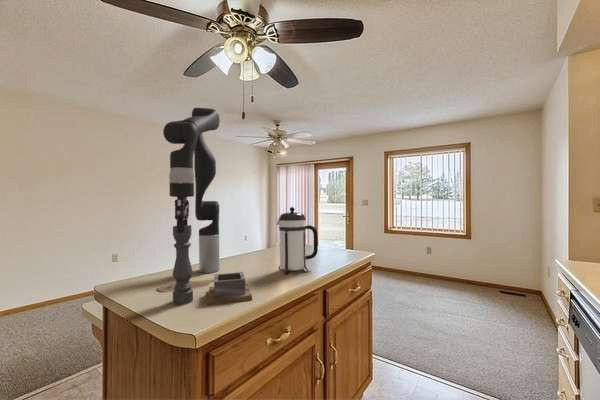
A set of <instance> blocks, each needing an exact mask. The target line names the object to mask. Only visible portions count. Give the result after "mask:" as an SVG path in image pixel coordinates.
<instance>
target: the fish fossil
mask: <svg viewBox="0 0 600 400" xmlns="http://www.w3.org/2000/svg"><path fill="white" fill-rule="evenodd" d="M189 282H190V284H191V285H192V288H191V289H193V290H194V289H198V288H203V287H208V286H209V287H210V285H211V283H214V279H205V280H196V281H193V280H190V281H189ZM176 284H177V283H176V282H173V283H172V282H171V283H170V282H169V283H165V284H162V285H159V286H158V287H157V288H156V290H157V292H159V293H173V292H174V291H175V290H174V286H175V285H176Z"/></svg>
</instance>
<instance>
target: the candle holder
mask: <svg viewBox="0 0 600 400" xmlns="http://www.w3.org/2000/svg"><path fill="white" fill-rule="evenodd" d="M172 236H173V239H174V240H175V243H174V244H173V247H174V248H175V261H174V266H173V270H172V277H173V279H174V280H175V283H177V284H176V285H175V286H174V290H175V291H174V292H172V304H173V305H174V306H175V305H176V306H181V305H187V304H190V303H192V302H193V301H194V289H191V288H192V285H191V284H190V281H191V278H192V276H193V272H194V271H193V267H192V263H191V259H190V252H189V251H190V250H189V249H190V247H191V246H192V243H191V242H189V241H190V240H191V237H192V225H190V224H189V225H185V231H184V232H183V233H178V232H177V225H172Z"/></svg>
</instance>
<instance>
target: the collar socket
mask: <svg viewBox="0 0 600 400" xmlns="http://www.w3.org/2000/svg"><path fill="white" fill-rule="evenodd" d="M213 280H214V282H213V283H214V284H213V286H209V289H208V295H207V306H210V305H219V304H220V305H221V304H227V303H228V304H230V303H235V302H236V303H237V302H245V301H246V302H247V301H252V300H253V295H252V292H251V289H250V285H249V283H246V279H245V274H244V272H243V271H240V272H239V271H238V272H230V273H229V272H227V273H217V274H214V279H213Z"/></svg>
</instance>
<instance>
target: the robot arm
mask: <svg viewBox="0 0 600 400" xmlns="http://www.w3.org/2000/svg"><path fill="white" fill-rule="evenodd" d="M220 118H221V117H220V114H219V112H218V110H216V109H214V108H206V107H194V108H193V109H192V111H191V116H190V117H187V118H184V119H182V120H173V121H170V122H167V123H166V124H165V125H164V127H163V130H162V131H163V132H162V133H163V137H164V139H165V140H166V142H168V143H170V144H173V145H182V147H181V148H179V149H176V150H173V151H170V154H169V175H168V177H169V178H168V179H169V181H168V182H169V196H170V197H171V198H176V199H174V214H175V215H174V219H175V221H176V226H177V232H178V233H183V232H184V231H185V225H188V219H189V215H190V214H189V213H190V202H189V200H188V197H189V198H191V197H194V196H195V202H194V203H195V204H194V205H195V206H194V207H195V209H194V210H195V211H194V212H195V214H194V215H195V219H196V220H197V221H202V222H203V221H212V222H211V223H210V224H208V225H206V226H204V227H201V228H199V229H198V265H199V266H198V270H199V273H201V274H202V273H204V274H206V273H207V274H208V273H210V274H211V273H215V272H218V271H220V204H219V202H218V201H217V200H203V198H204V196H205V194H206V191H207V189H208V188H209V186H210V185H211V184H212V182H213V180H214V179H215V177H216V175H217V170H216V169H217V161H216V158H215V156H214V154H213V153H212V151H211V150H210V148H209V146H208V145H207V143H206V141H205V139H204V136H203V133H205V132H206V133H207V132H210V131H217V130H218V128H219V126H220V123H221V121H220Z"/></svg>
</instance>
